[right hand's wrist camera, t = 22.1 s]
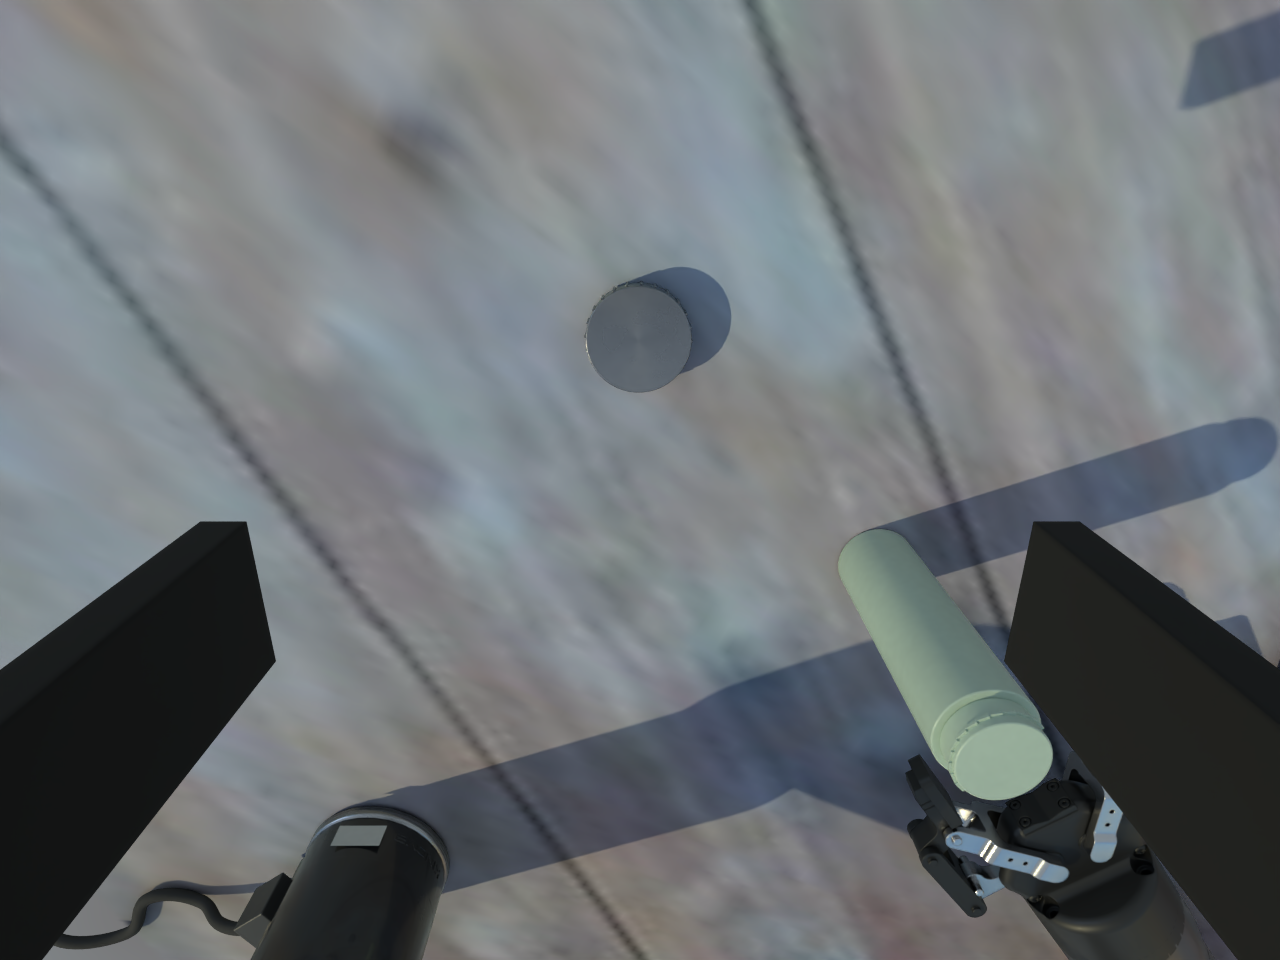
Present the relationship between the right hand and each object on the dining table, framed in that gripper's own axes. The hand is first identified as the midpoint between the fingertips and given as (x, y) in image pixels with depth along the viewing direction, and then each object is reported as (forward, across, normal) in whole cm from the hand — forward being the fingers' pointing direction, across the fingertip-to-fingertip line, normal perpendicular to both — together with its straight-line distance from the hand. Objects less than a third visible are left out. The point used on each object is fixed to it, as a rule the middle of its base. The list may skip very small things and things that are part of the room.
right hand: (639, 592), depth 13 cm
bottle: (+27, +14, -13) cm, 33 cm away
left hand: (+21, +18, -20) cm, 34 cm away
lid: (+25, 0, 0) cm, 25 cm away
